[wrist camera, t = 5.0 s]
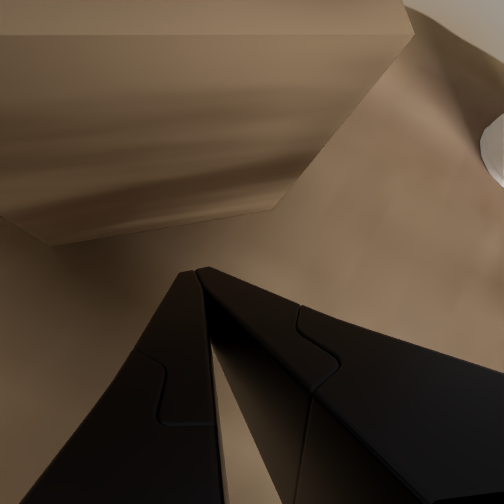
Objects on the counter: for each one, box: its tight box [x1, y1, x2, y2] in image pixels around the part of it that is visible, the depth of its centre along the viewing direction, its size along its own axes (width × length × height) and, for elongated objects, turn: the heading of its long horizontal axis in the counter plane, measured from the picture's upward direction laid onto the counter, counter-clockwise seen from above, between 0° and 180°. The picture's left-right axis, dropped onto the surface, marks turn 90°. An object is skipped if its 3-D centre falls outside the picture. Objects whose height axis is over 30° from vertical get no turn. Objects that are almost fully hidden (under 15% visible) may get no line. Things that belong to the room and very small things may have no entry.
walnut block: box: [0, 0, 415, 247], centre depth 12 cm, size 4×12×12 cm, turn 104°
